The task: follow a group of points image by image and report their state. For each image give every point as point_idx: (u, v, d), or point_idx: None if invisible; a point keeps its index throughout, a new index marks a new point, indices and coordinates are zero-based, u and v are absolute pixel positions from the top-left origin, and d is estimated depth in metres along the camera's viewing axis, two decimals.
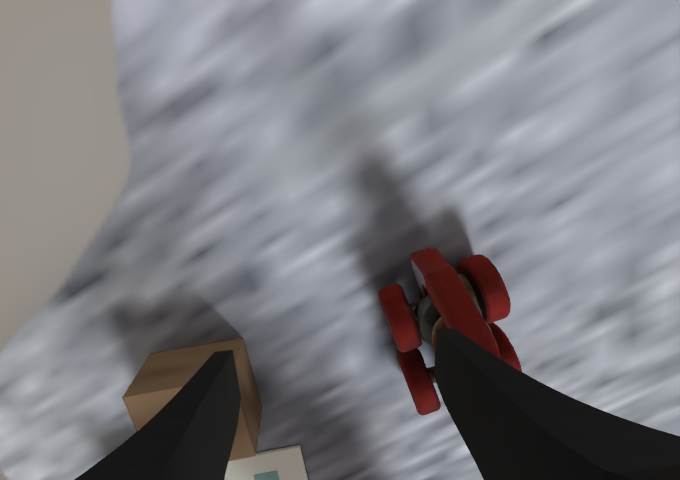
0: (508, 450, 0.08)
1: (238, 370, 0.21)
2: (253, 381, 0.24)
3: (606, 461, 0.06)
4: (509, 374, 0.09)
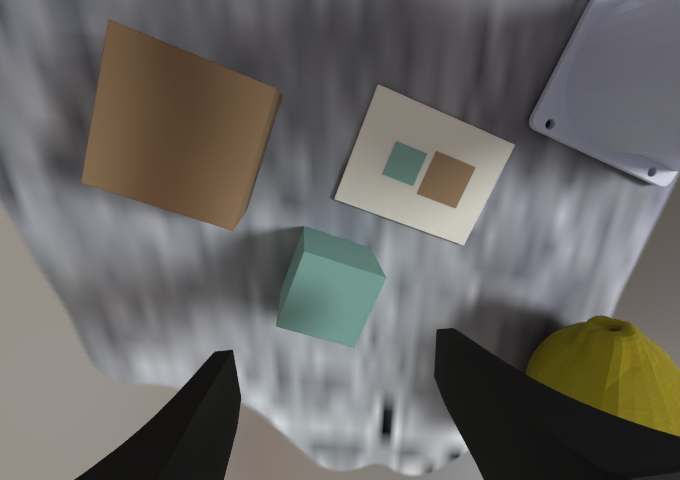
0: (508, 450, 0.08)
1: None
2: None
3: (607, 462, 0.06)
4: (509, 374, 0.09)
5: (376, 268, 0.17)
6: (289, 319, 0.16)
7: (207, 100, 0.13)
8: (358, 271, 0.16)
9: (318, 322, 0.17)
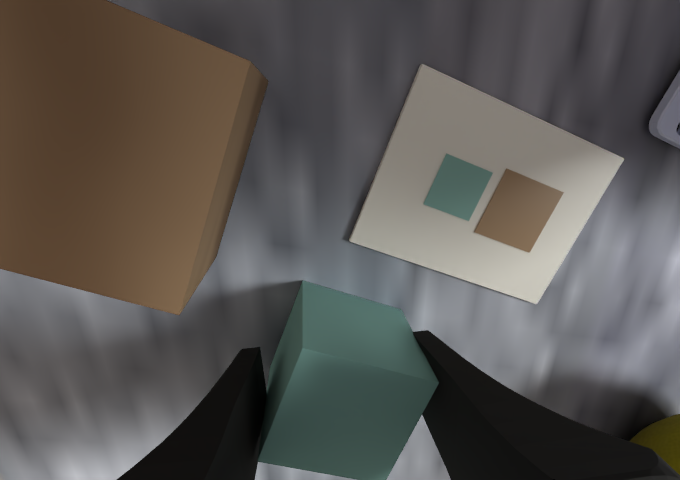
0: (471, 455, 0.08)
1: None
2: None
3: (554, 468, 0.06)
4: (476, 378, 0.09)
5: (420, 360, 0.10)
6: (279, 450, 0.10)
7: (117, 83, 0.07)
8: (394, 375, 0.10)
9: (326, 451, 0.10)
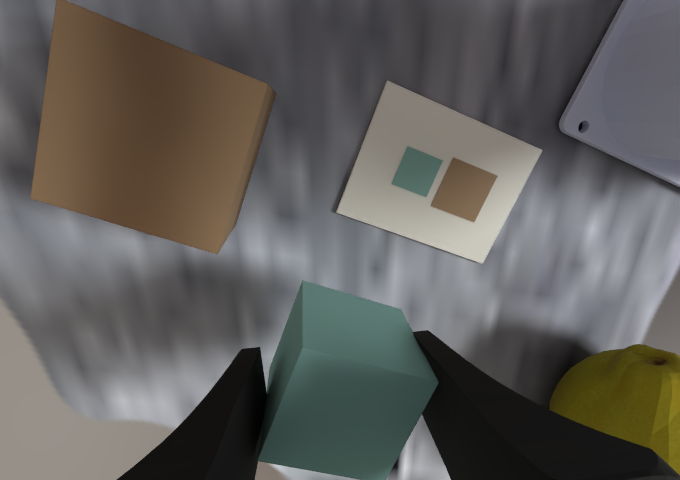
0: (471, 455, 0.08)
1: None
2: None
3: (554, 469, 0.06)
4: (476, 378, 0.09)
5: (420, 360, 0.11)
6: (279, 449, 0.10)
7: (184, 98, 0.11)
8: (393, 375, 0.10)
9: (326, 451, 0.10)
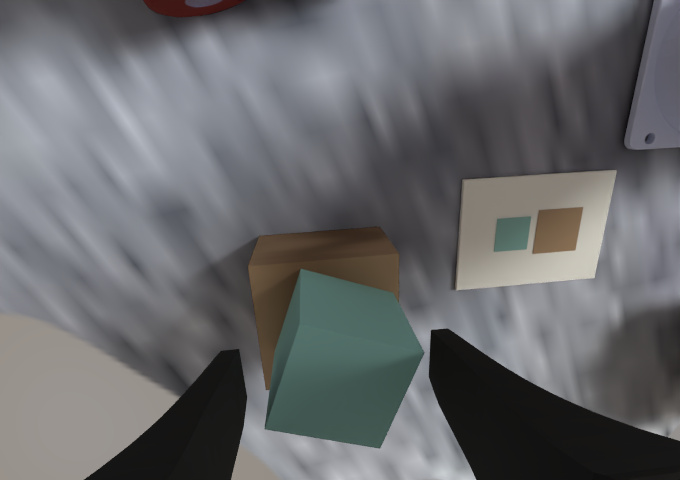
0: (500, 451, 0.08)
1: (265, 253, 0.15)
2: (327, 232, 0.17)
3: (594, 463, 0.06)
4: (501, 375, 0.09)
5: (408, 334, 0.12)
6: (283, 418, 0.11)
7: None
8: (382, 347, 0.11)
9: (326, 419, 0.11)
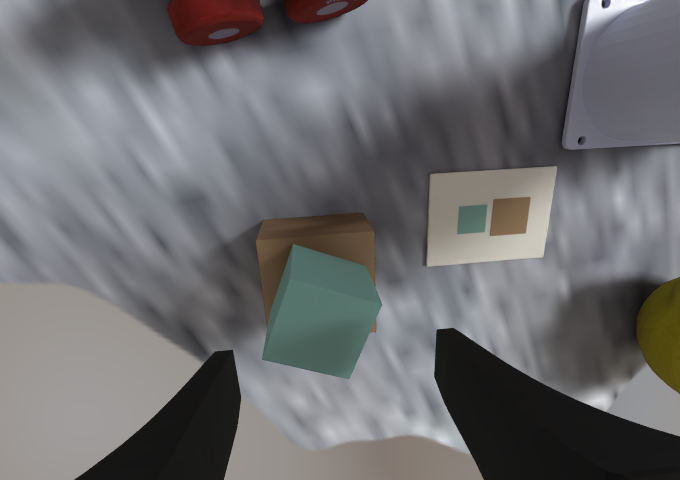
0: (508, 450, 0.08)
1: (269, 231, 0.19)
2: (319, 217, 0.21)
3: (607, 461, 0.06)
4: (509, 374, 0.09)
5: (372, 293, 0.15)
6: (276, 351, 0.15)
7: None
8: (351, 299, 0.14)
9: (308, 353, 0.15)
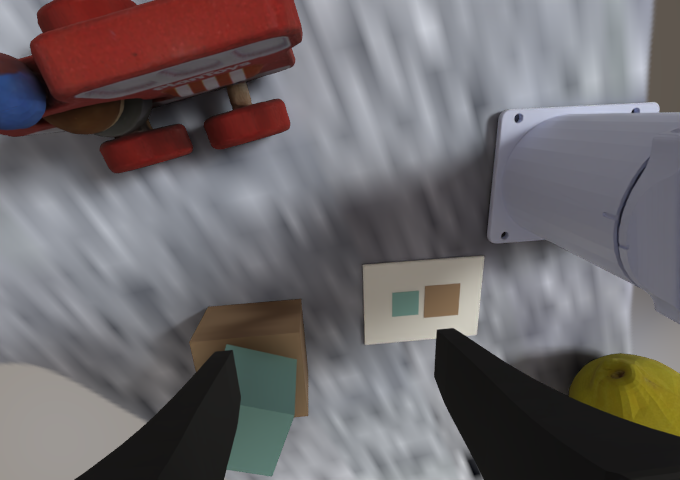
0: (508, 450, 0.08)
1: (205, 328, 0.20)
2: (259, 304, 0.23)
3: (606, 461, 0.06)
4: (509, 374, 0.09)
5: (289, 400, 0.17)
6: None
7: None
8: (265, 412, 0.16)
9: (231, 457, 0.17)
